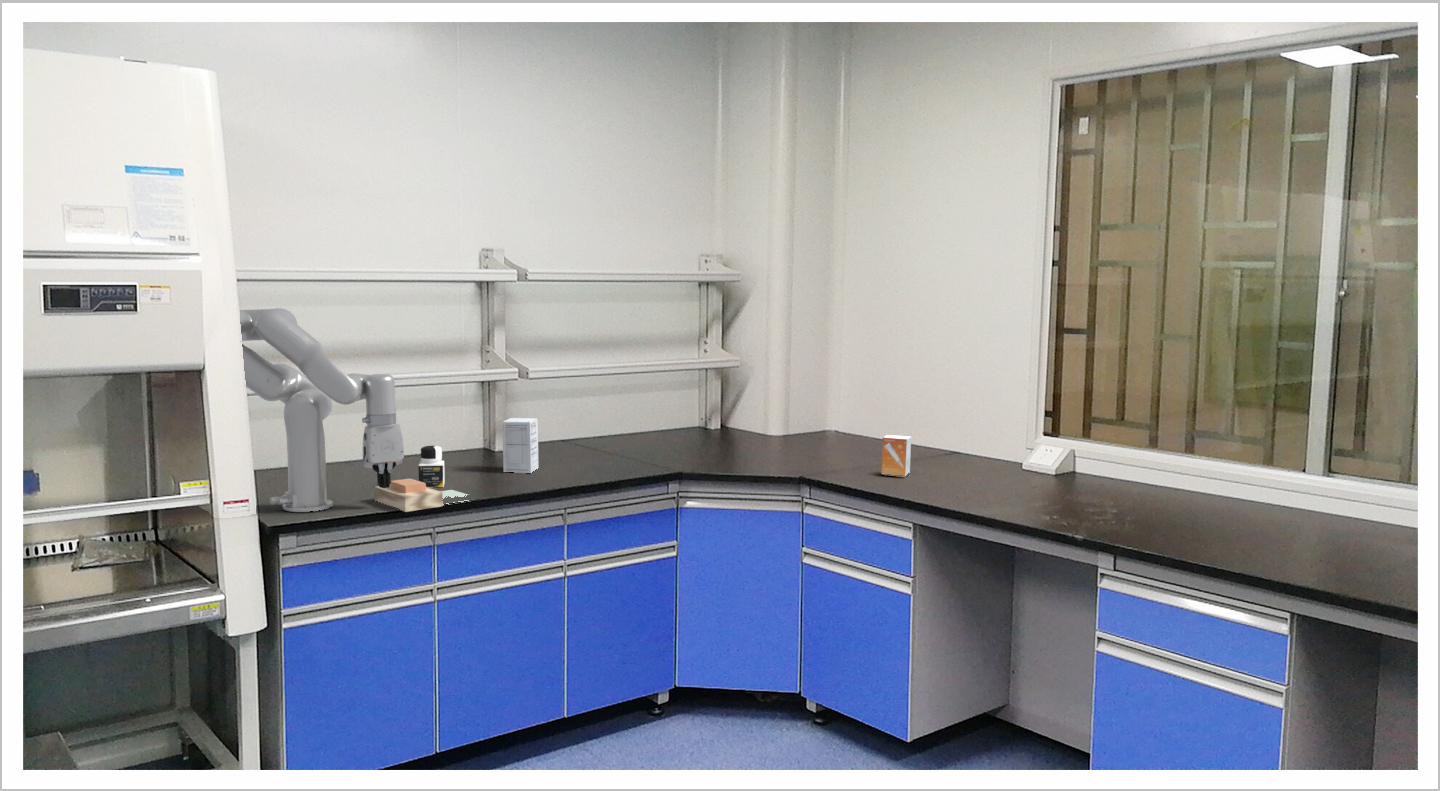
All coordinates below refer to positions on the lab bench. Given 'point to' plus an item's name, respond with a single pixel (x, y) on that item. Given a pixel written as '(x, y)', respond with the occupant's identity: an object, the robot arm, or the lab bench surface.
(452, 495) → the mat
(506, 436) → the supplement box
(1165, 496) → the lab bench surface
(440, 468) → the medicine bottle
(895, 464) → the small box
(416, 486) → the salmon orange block
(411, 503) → the beige wooden block
